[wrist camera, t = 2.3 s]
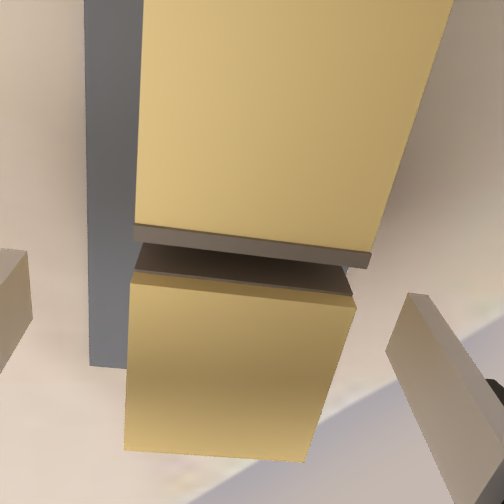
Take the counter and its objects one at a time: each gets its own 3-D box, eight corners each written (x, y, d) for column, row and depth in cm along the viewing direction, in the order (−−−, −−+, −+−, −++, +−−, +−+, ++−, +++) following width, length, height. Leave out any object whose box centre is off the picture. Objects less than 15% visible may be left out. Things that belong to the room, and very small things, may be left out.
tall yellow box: (203, -138, 16) (156, -357, 6) (350, -106, 17) (541, -252, 7) (181, 116, 21) (132, 246, 10) (299, 134, 22) (365, 273, 11)
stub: (179, 135, 21) (130, 280, 11) (296, 153, 22) (357, 305, 11) (169, 250, 24) (123, 450, 14) (272, 262, 25) (304, 462, 14)
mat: (85, -198, 16) (80, -203, 15) (461, -113, 18) (467, -115, 17) (91, 360, 29) (89, 365, 28) (310, 379, 30) (311, 385, 30)
